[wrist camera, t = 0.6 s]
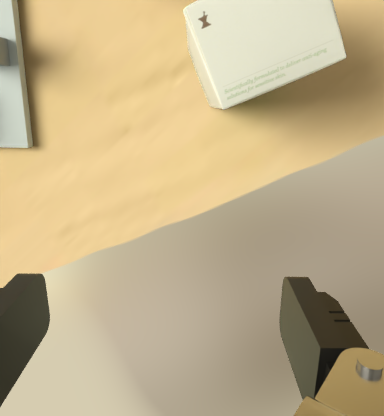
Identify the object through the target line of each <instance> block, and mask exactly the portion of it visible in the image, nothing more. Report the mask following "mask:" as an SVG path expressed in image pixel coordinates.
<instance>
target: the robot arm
mask: <svg viewBox="0 0 384 416" xmlns="http://www.w3.org/2000/svg"><path fill="white" fill-rule="evenodd" d="M49 321H50V314H49V306H48V298H47V291H46V284H45V279H44V276H43V275H42V274H17V275H16V276H15V277H14V278H13V279H12V280H11V281H10V282H9V283H8V284H7V285H6V286H5V287H4V288H0V407H1V405H2V403H3V402H4V400H5V399H6V397H7V395H8V394H9V392H10V390H11V389H12V387H13V386H14V384H15V383H16V381H17V379H18V378H19V376H20V375H21V373H22V371H23V370H24V368H25V367H26V365H27V363H28V362H29V360H30V359H31V357H32V355H33V354H34V352H35V350H36V349H37V347H38V346H39V344H40V342H41V341H42V339H43V338H44V336H45V335H46V333H47V330H48V326H49ZM280 332H281V337H282V340H283V343H284V346H285V349H286V352H287V355H288V358H289V361H290V363H291V367H292V370H293V372H294V375H295V378H296V381H297V384H298V387H299V390H300V393H301V396H302V399H303V402H302V403H301V405H300V406H299V408H298V409H297V411H296V413H295V415H294V416H384V355H383V354H381V353H378V352H376V351H373V350H370V349H369V348H368V346H367V345H366V343H365V342H364V340H363V339H362V337H361V336H360V334H359V333H358V331H357V330H356V328H355V327H354V325H353V324H352V322H350V319H349V318H348V316H347V315H346V314H345V313H344V310H343V309H342V307H341V306H340V304H339V303H338V301H337V300H335V299H334V298H333V297H331V296H330V295H328V294H327V293H326V292H317V291H316V289H315V288H314V286H313V284H312V282H311V281H310V279H309V278H308V277H285V278H284V280H283V286H282V298H281V310H280Z"/></svg>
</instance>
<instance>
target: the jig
mask: <svg viewBox="0 0 384 416" xmlns="http://www.w3.org/2000/svg"><path fill="white" fill-rule="evenodd" d="M32 146H33V140H32V131H31V122H30V113H29V103H28V94H27V85H26V76H25V67H24V57H23V48H22V39H21V30H20V21H19V11H18V2H17V0H0V147H11V148H29V147H32Z"/></svg>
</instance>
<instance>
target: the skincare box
mask: <svg viewBox="0 0 384 416" xmlns="http://www.w3.org/2000/svg"><path fill="white" fill-rule="evenodd" d="M183 13H184V15H185V18H186V29H187V42H188V51H189V54H190V56H191V59H192V62H193V65H194V68H195V71H196V73H197V76H198V79H199V81H200V84H201V86H202V89H203V91H204V94H205V96H206V99H207V101H208V104H209V106H210V107H213V108H219V109H223V110H225V109H227V108H230V107H232V106H235V105H238V104H240V103H243V102H245V101H248V100H250V99H253V98H255V97H257V96H260V95H262V94H265V93H267V92H270V91H272V90H274V89H277V88H279V87H282V86H284V85H287V84H289V83H291V82H294V81H296V80H298V79H301V78H303V77H305V76H308V75H310V74H312V73H314V72H317V71H319V70H321V69H324V68H326V67H328V66H331V65H333V64H335V63H337V62H339V61H341V60H343V59H345V58H346V57H347V56H346V52H345V48H344V44H343V40H342V35H341V32H340V28H339V24H338V20H337V16H336V12H335V8H334V4H333V0H198V1H195V2H193V3H191V4H190V5H188V6H186V7H185V9H184V10H183Z"/></svg>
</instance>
